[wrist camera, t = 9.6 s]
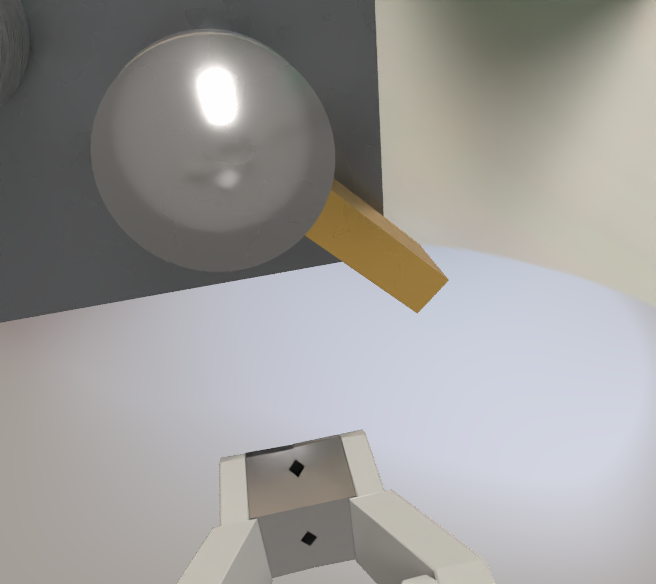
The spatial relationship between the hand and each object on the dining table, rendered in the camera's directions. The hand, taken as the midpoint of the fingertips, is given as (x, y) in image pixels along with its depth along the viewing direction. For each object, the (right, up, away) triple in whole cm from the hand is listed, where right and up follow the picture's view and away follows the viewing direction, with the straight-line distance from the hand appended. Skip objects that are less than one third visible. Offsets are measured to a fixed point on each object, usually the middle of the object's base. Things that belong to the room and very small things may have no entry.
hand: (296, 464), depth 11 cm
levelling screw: (-1, +9, +9) cm, 12 cm away
